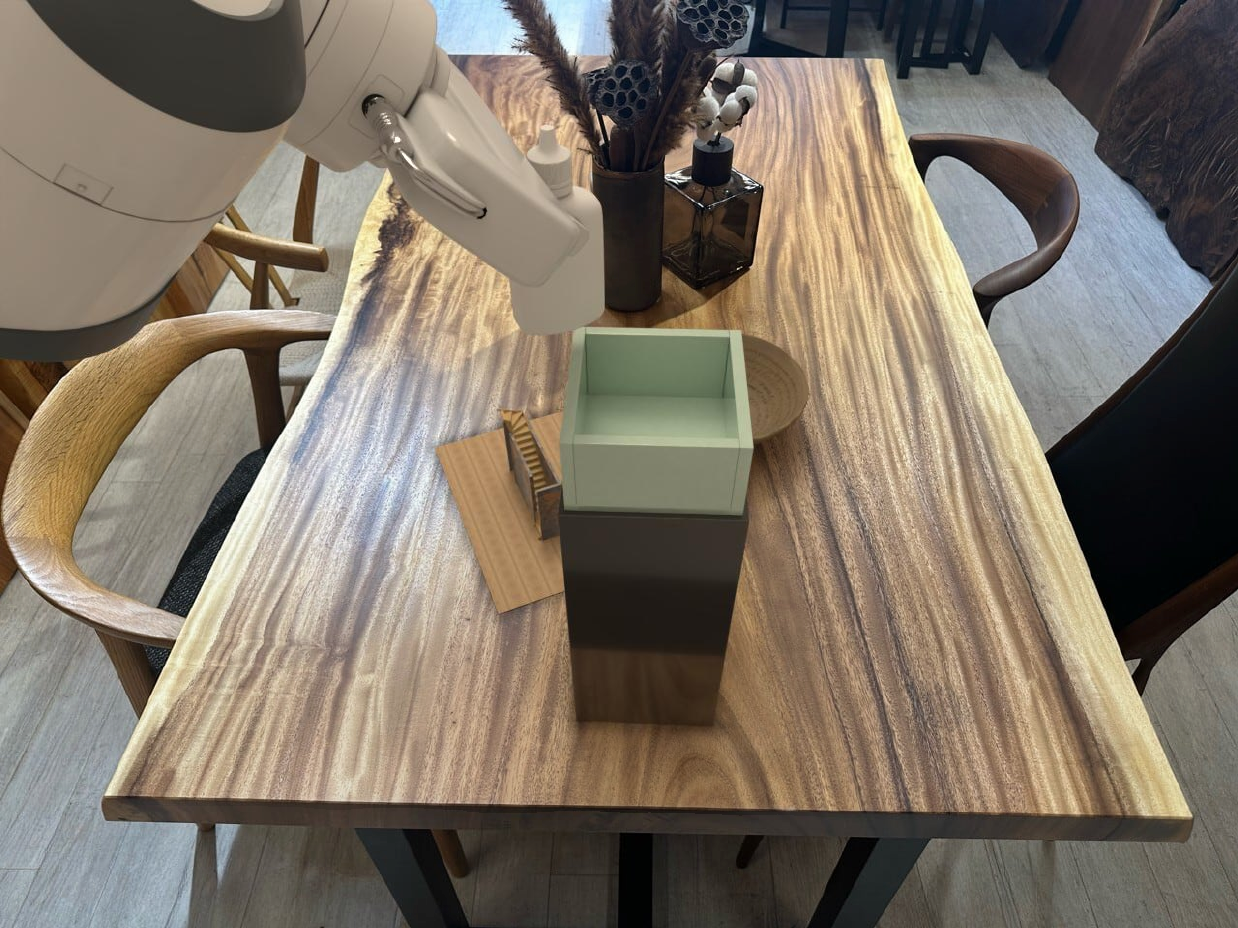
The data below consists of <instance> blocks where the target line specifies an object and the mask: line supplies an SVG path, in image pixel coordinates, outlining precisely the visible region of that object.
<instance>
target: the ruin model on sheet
mask: <svg viewBox="0 0 1238 928" xmlns="http://www.w3.org/2000/svg"><path fill="white" fill-rule="evenodd" d="M496 412H499V413H500V415H501V418H502V419H501V421H502V428H498V429H495V430H491V431H487V432H485V433H481V434H477V435H474V436H470V437H466V438H463V439H460V440H456V441H453V442H449V443H447V444H443V445H442V444H441V445H439V446H436V447H434V449H435V453H436V454H437V457H438V459H439V462H440V465H441V468H442V470H443V474H444V475H445V478H446V480H447V484H448V486H449V488H450V491H451V494H452V496H453V499H454V501H455V504H456V507H457V509H458V512H459V514H460V518H461V520H462V522H463V525H464V527H465V530H466V533H467V535H468V539H469V541H470V543H471V545H472V549H473V551H474V553H475V556H476V559H477V562H478V564H479V566H480V569H481V571H482V574H483V577H484V581H485V582H486V585H487V587H488V591H489V593H490V595H491V598H492V600H493V603H494V606H495V608H496V611H497V614H498V615H500V614H503V613H506V612H509V611H511V610H514V609H518V608H520V607H522V606H525V605H528V604H531V603H534V602H537V601H539V600H542V599H545V598H548V597H551V596H554V595H557V594H560V593H562V592H564V581H563V570H562V559H561V548H560V537H559V526H558V507H559V499H560V491H561V483H562V474H561V461H560V449H559V439H560V432H561V424H562V417H563V410H561V411H558V412H554V413H551V414H547V415H544V416H540V417H537V418H533V419H529V418H528V416H527V415H526V413H525V412H524V410H521V409H503V408H496Z"/></svg>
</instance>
